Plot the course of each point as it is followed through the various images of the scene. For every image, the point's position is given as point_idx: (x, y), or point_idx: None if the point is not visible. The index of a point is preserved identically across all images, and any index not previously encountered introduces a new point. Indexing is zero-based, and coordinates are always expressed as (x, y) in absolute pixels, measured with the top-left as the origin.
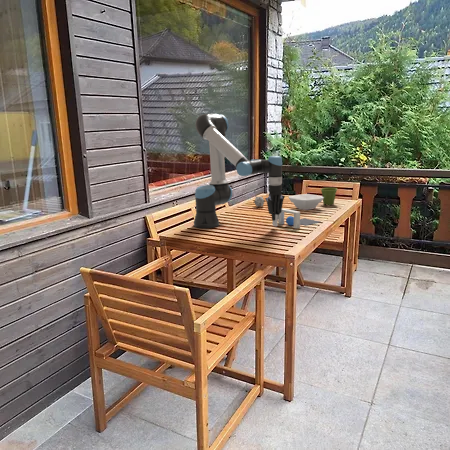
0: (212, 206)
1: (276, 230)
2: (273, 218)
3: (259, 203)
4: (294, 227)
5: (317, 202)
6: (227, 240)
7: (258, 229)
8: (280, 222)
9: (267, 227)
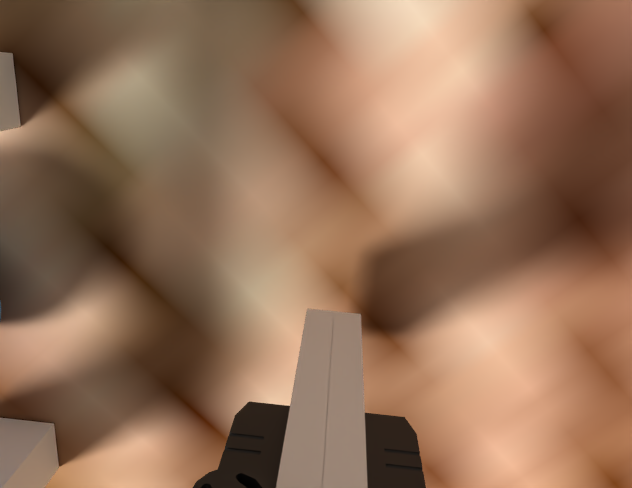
0: None
1: (397, 241)
2: (420, 462)
3: None
4: (10, 104)
5: None
6: None
7: (531, 485)
8: (33, 452)
9: None
